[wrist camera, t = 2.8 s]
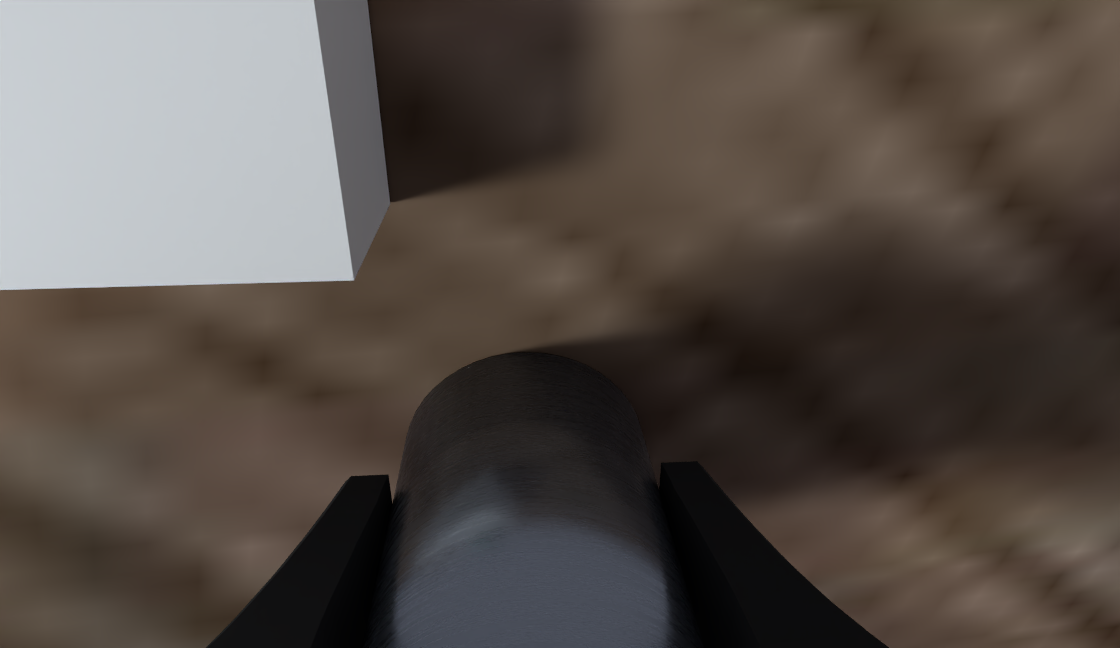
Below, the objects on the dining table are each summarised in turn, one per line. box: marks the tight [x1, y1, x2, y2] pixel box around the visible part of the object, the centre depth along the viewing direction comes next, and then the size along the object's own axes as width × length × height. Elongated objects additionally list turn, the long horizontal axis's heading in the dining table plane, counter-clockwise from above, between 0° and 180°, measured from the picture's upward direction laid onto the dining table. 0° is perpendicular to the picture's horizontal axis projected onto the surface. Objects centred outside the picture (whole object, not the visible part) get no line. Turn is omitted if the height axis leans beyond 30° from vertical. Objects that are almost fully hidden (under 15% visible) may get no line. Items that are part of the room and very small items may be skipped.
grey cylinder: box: [363, 353, 704, 648], centre depth 11 cm, size 4×4×6 cm
